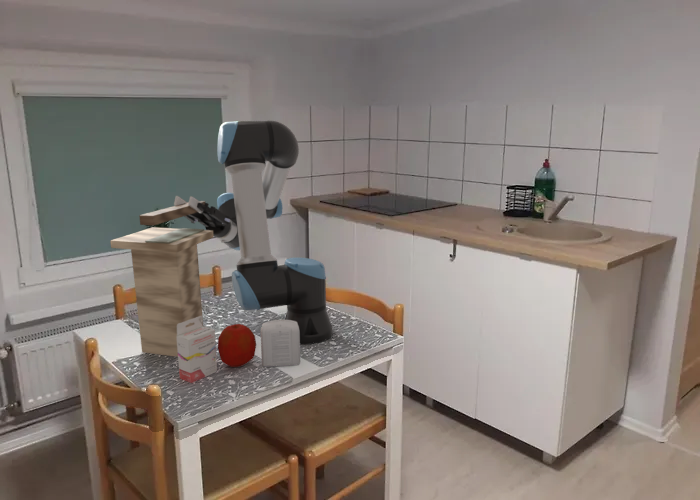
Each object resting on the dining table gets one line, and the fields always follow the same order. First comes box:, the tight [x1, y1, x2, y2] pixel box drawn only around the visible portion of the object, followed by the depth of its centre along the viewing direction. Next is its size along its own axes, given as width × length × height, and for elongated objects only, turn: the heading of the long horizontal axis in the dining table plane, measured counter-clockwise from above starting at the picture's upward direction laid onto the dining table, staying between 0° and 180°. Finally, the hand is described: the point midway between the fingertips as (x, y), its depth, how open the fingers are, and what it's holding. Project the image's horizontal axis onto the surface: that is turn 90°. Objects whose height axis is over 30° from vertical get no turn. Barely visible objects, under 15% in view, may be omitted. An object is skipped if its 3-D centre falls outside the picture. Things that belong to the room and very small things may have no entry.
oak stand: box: [110, 226, 215, 358], centre depth 157 cm, size 18×20×33 cm
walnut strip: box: [139, 200, 207, 226], centre depth 158 cm, size 26×4×2 cm, turn 163°
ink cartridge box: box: [176, 316, 218, 384], centre depth 142 cm, size 9×5×15 cm, turn 144°
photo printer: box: [260, 319, 301, 367], centre depth 149 cm, size 10×4×12 cm, turn 98°
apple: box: [217, 323, 257, 368], centre depth 149 cm, size 10×10×12 cm
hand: (183, 200), depth 161 cm, fingers closed on walnut strip, 4 cm apart
